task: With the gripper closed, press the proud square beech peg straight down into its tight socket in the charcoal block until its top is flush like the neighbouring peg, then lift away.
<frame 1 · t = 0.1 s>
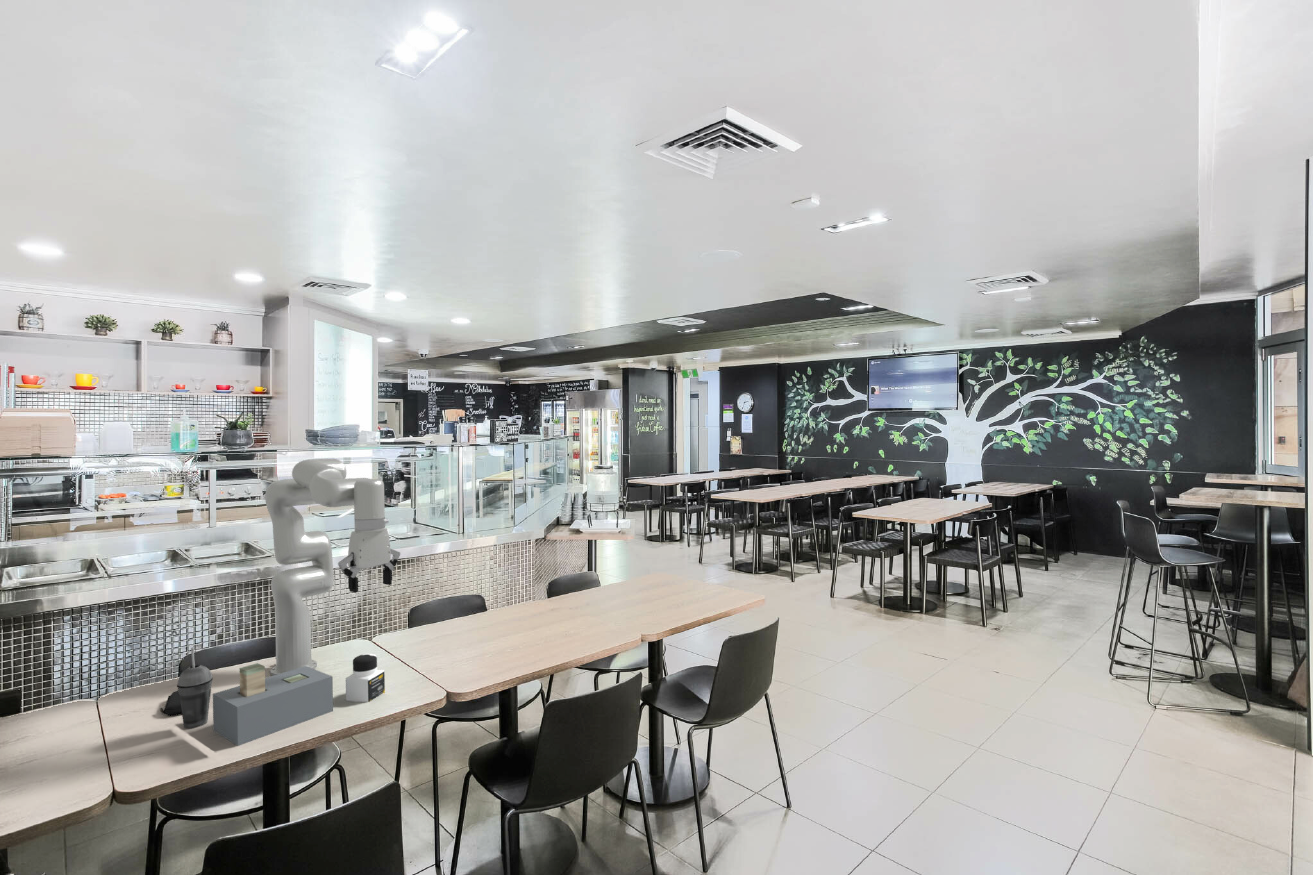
hand: (371, 587, 169), 31 cm above the table, fingers open, 9 cm apart
medicine bottle: (365, 700, 171), on the table
socket block: (275, 724, 157), on the table
carrying case or bag: (186, 707, 170), on the table
flush peg: (295, 695, 161), point 5 cm above the table, slide at 0.0 cm
proud peg: (252, 685, 153), point 11 cm above the table, slide at 6.0 cm
beverage cup: (195, 728, 156), on the table
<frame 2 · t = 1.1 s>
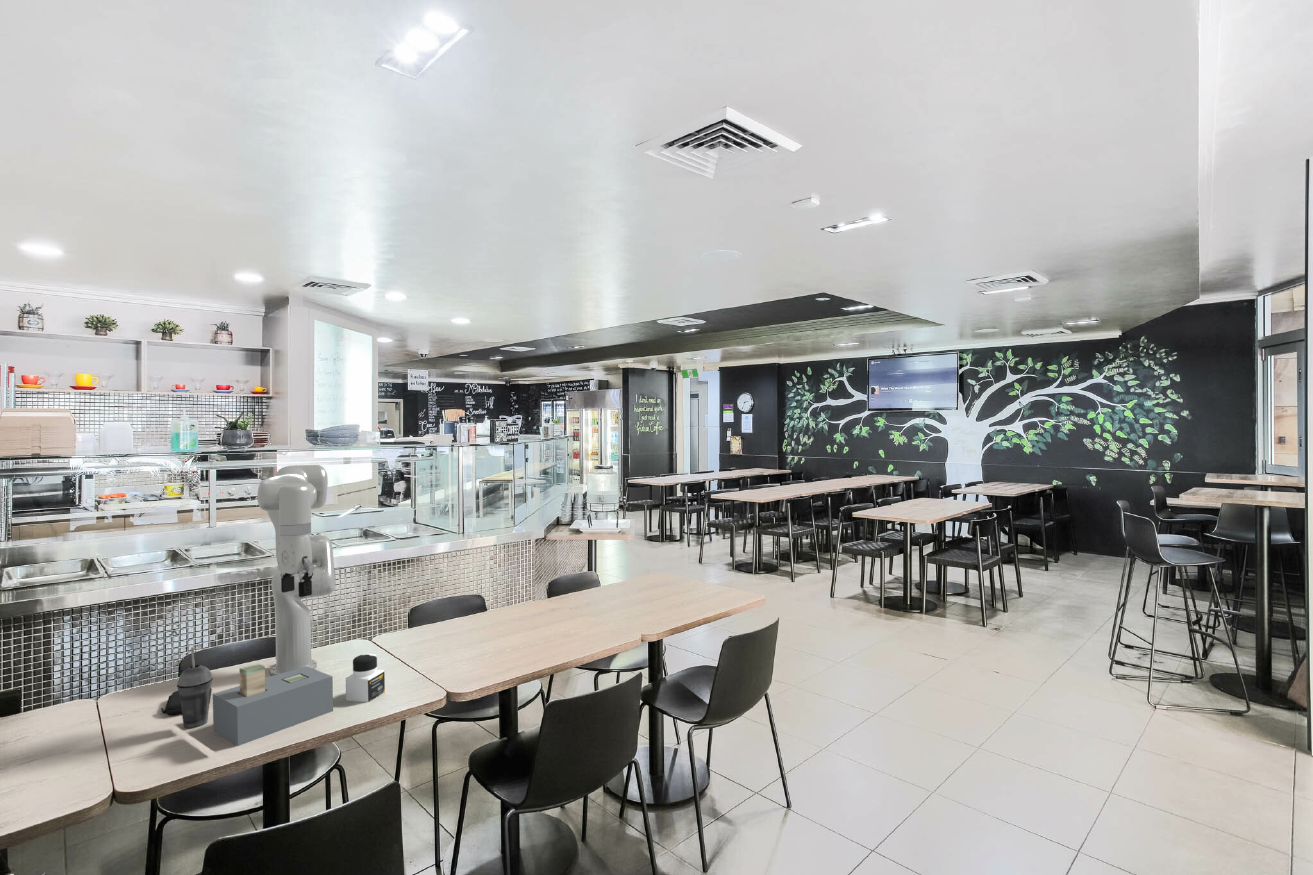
hand: (296, 593, 169), 30 cm above the table, fingers open, 9 cm apart
nothing on the table moved.
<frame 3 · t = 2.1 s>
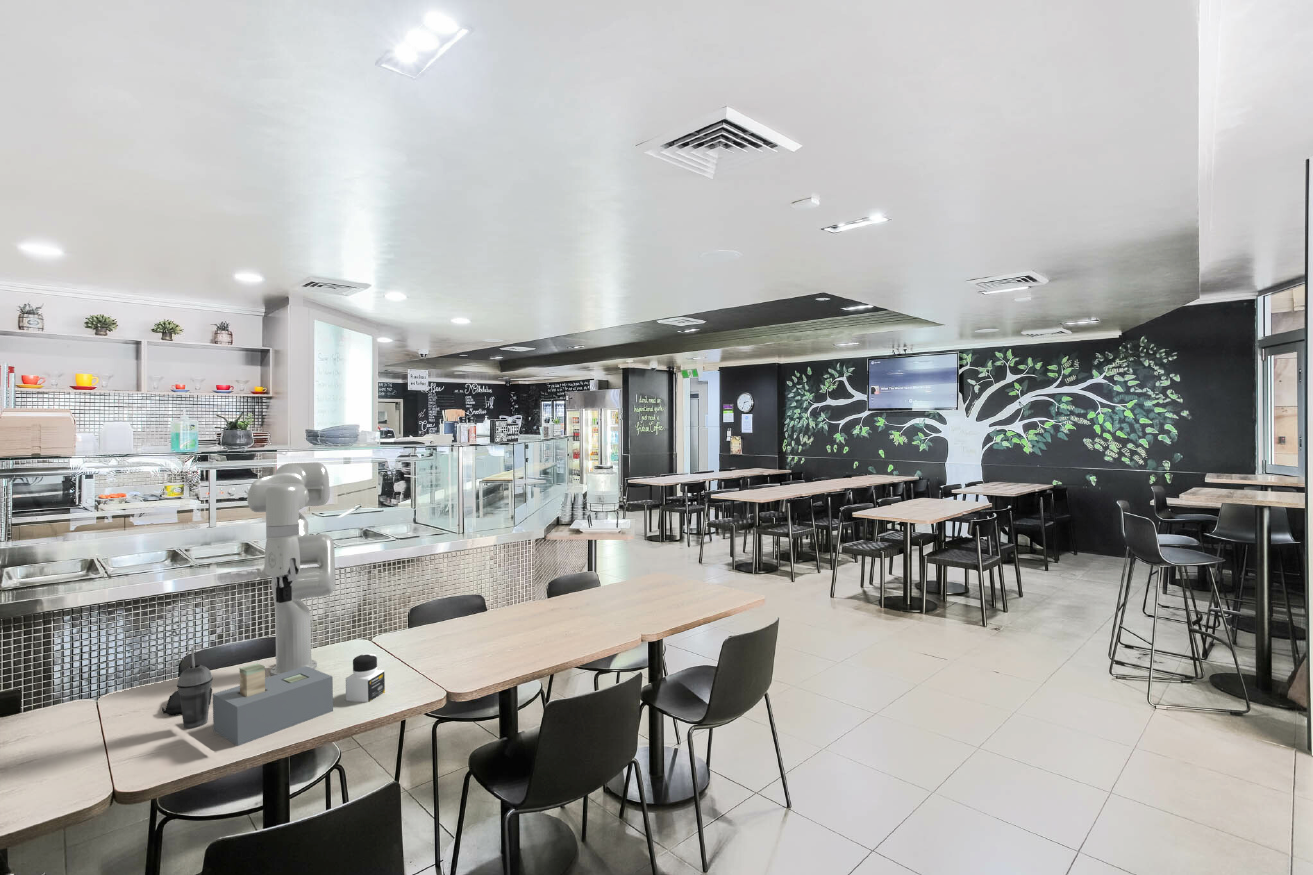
hand: (284, 601, 164), 29 cm above the table, fingers closed
nothing on the table moved.
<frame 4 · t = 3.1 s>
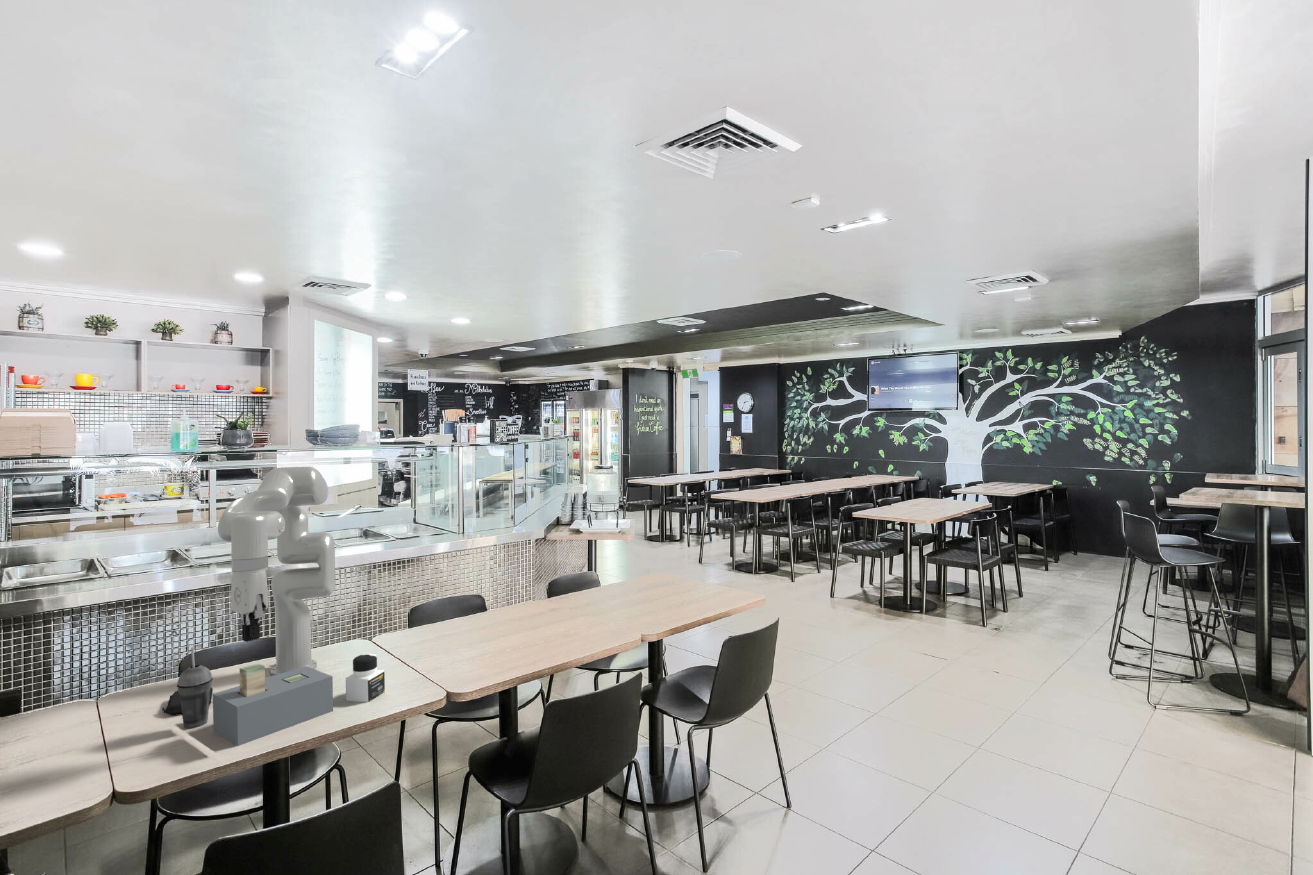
hand: (251, 639, 153), 23 cm above the table, fingers closed
nothing on the table moved.
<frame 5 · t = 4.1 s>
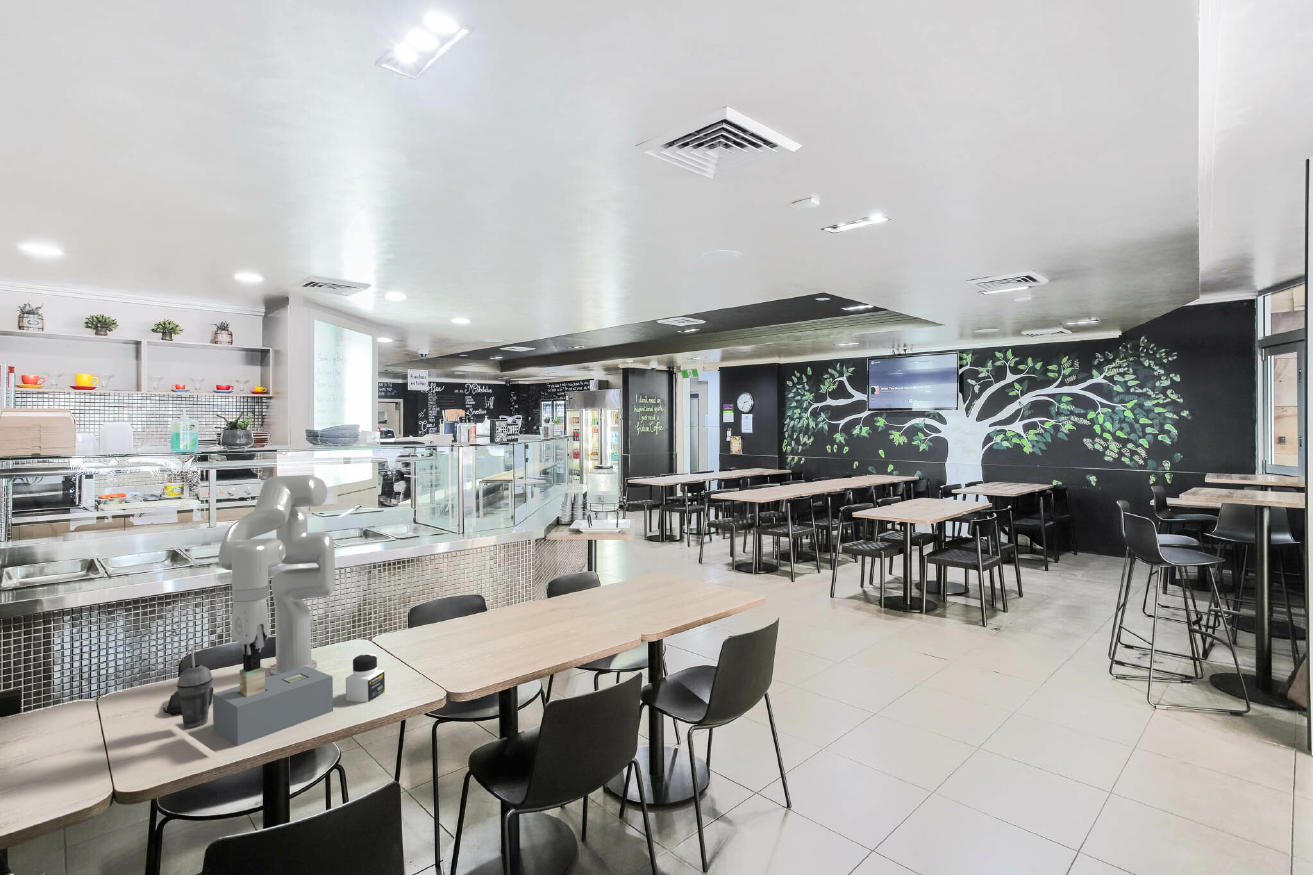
hand: (251, 669, 153), 16 cm above the table, fingers closed
proud peg: (252, 687, 153), point 11 cm above the table, slide at 5.5 cm, touching gripper
everything else where it was.
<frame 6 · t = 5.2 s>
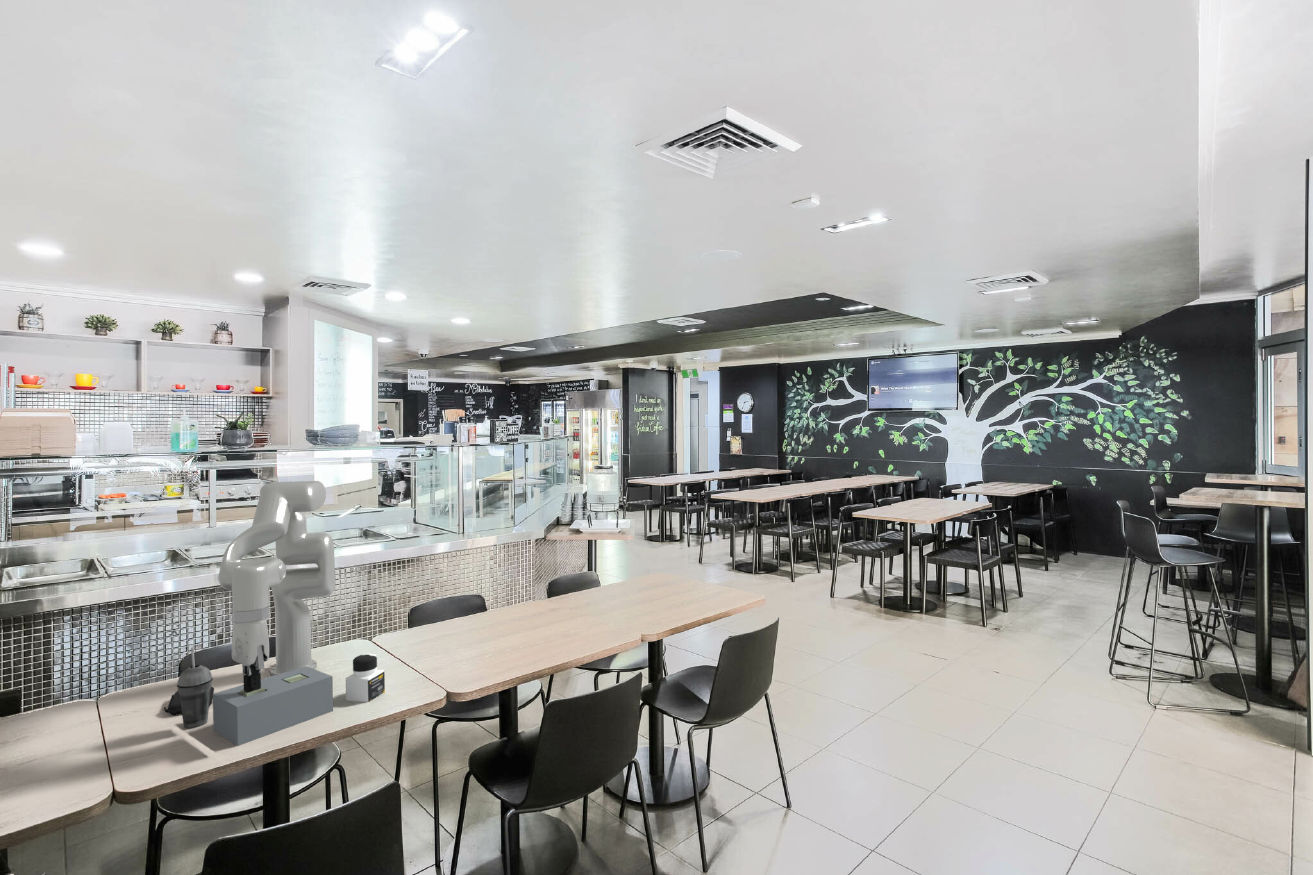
hand: (252, 689, 153), 10 cm above the table, fingers closed
proud peg: (252, 708, 153), point 6 cm above the table, slide at 0.4 cm, touching gripper
everything else where it was.
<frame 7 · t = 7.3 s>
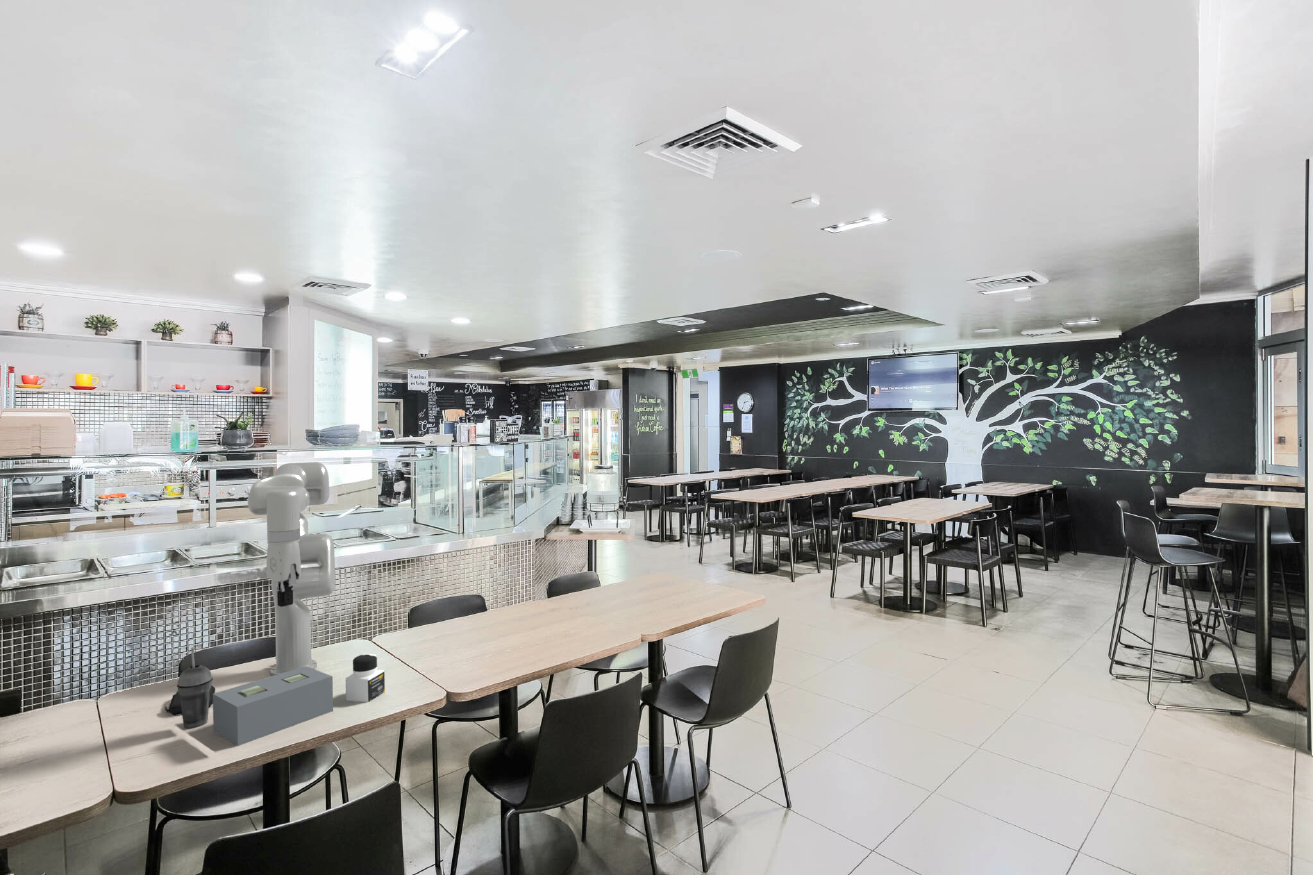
hand: (285, 604, 165), 28 cm above the table, fingers closed
proud peg: (252, 708, 153), point 6 cm above the table, slide at 0.4 cm
everything else where it was.
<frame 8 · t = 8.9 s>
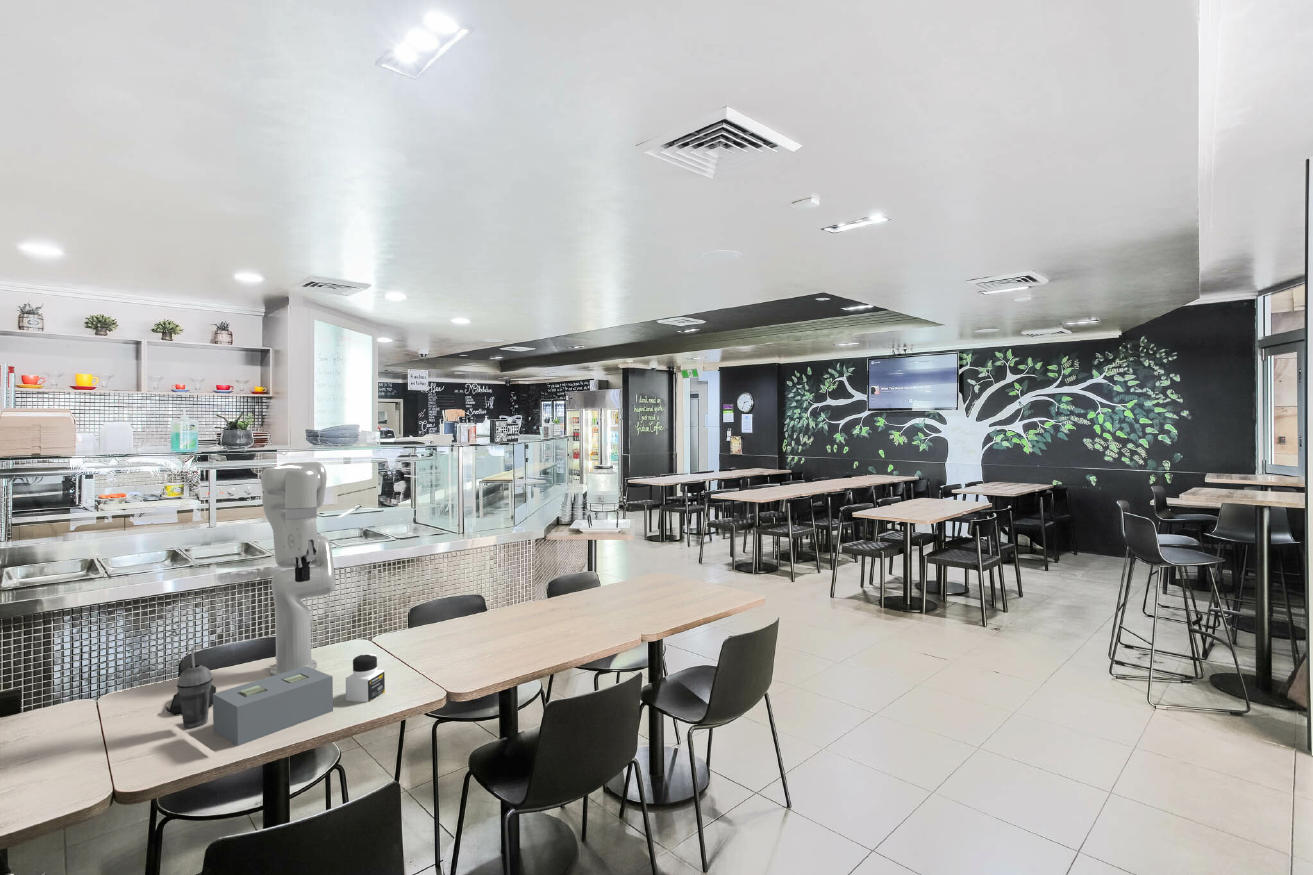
hand: (302, 580, 171), 33 cm above the table, fingers closed
at the end: proud peg slide at 0.4 cm; flush peg slide at 0.0 cm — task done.
